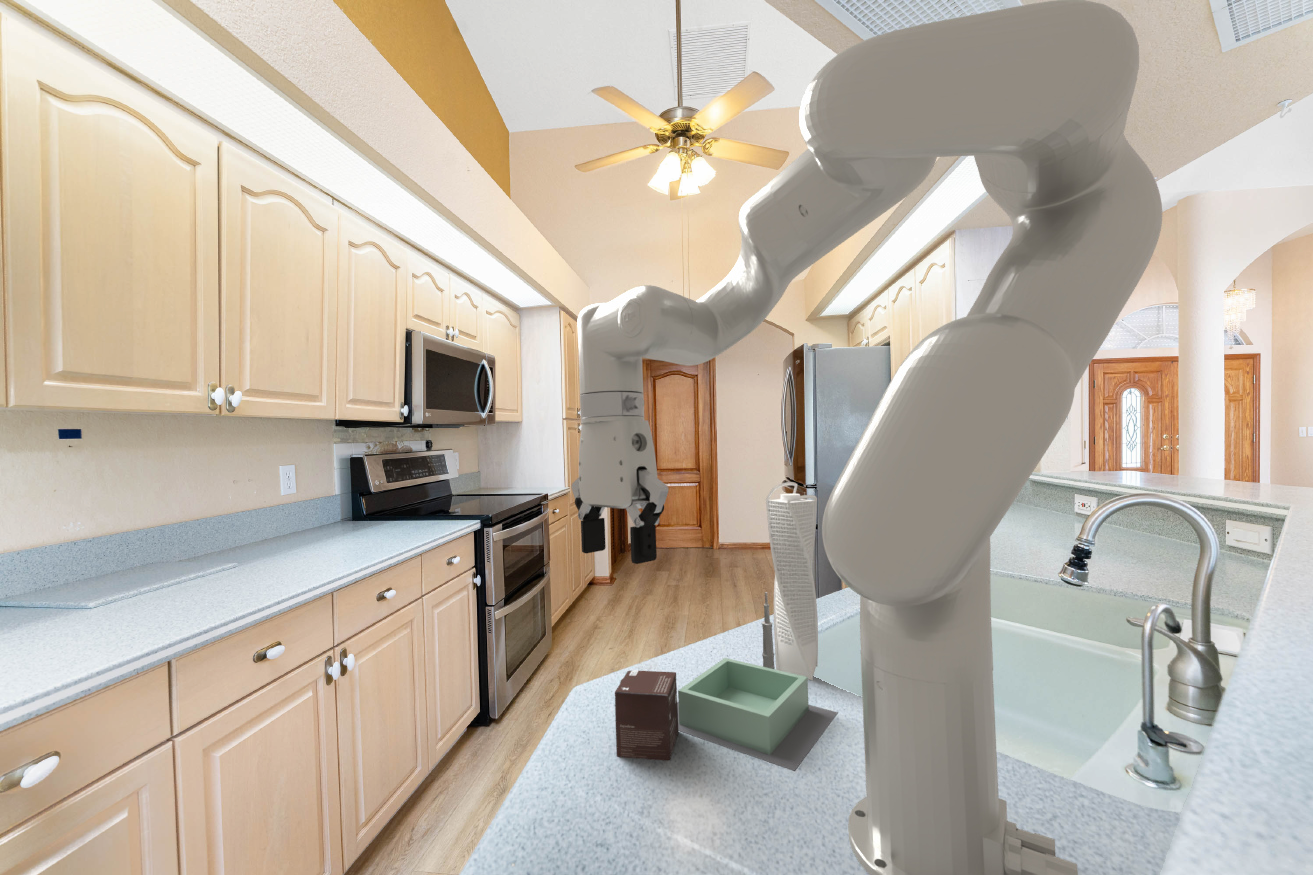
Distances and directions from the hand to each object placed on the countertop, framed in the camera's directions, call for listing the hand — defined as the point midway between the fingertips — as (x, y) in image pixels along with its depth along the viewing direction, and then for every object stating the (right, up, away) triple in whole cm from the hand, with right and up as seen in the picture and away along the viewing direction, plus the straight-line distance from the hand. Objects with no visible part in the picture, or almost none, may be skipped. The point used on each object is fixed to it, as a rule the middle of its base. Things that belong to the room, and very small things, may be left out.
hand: (617, 556), depth 62 cm
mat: (+15, -21, +2) cm, 26 cm away
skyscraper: (+25, -21, +15) cm, 36 cm away
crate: (+15, -20, +2) cm, 25 cm away
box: (+4, -21, -3) cm, 22 cm away
